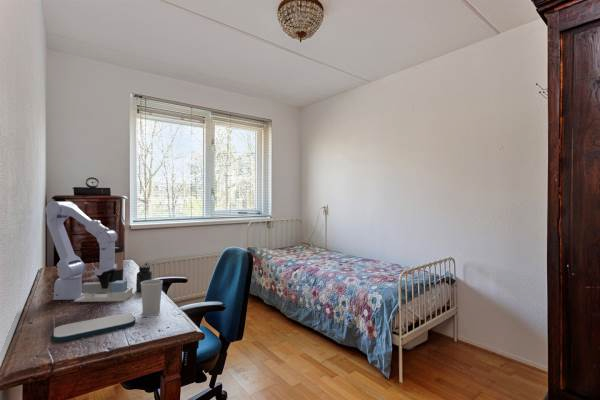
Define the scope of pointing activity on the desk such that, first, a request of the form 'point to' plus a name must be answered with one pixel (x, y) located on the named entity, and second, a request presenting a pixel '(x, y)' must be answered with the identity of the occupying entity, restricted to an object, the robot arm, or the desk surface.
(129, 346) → the desk surface
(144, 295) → the cup
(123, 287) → the blue-capped grey bar
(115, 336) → the desk surface
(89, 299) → the slider rail
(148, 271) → the supplement bottle
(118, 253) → the travel mug
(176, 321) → the desk surface
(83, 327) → the white teal rounded slab
